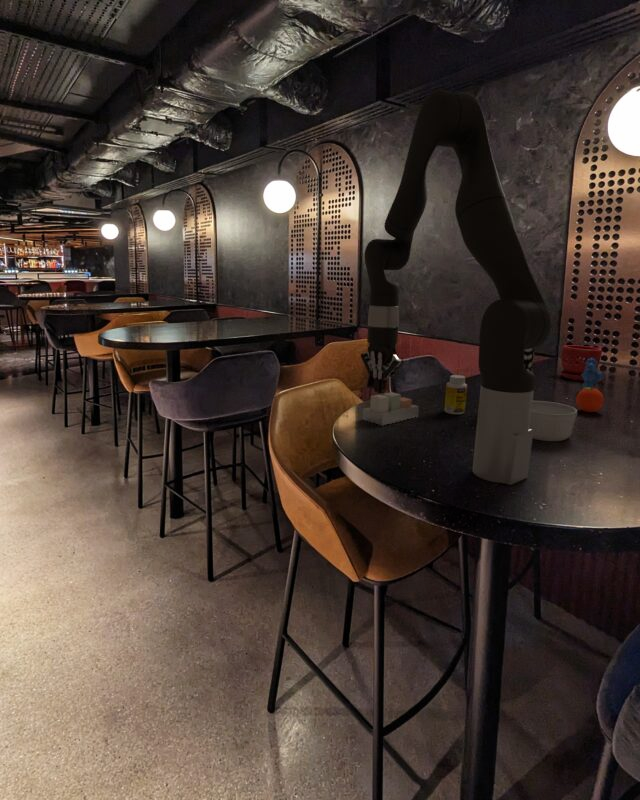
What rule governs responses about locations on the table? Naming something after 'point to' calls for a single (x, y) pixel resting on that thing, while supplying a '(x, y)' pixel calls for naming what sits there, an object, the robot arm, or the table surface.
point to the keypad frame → (390, 415)
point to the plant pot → (577, 360)
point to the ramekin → (551, 420)
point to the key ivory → (379, 403)
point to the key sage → (393, 400)
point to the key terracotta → (405, 402)
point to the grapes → (591, 374)
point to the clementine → (589, 399)
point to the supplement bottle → (455, 395)
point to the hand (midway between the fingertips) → (379, 392)
